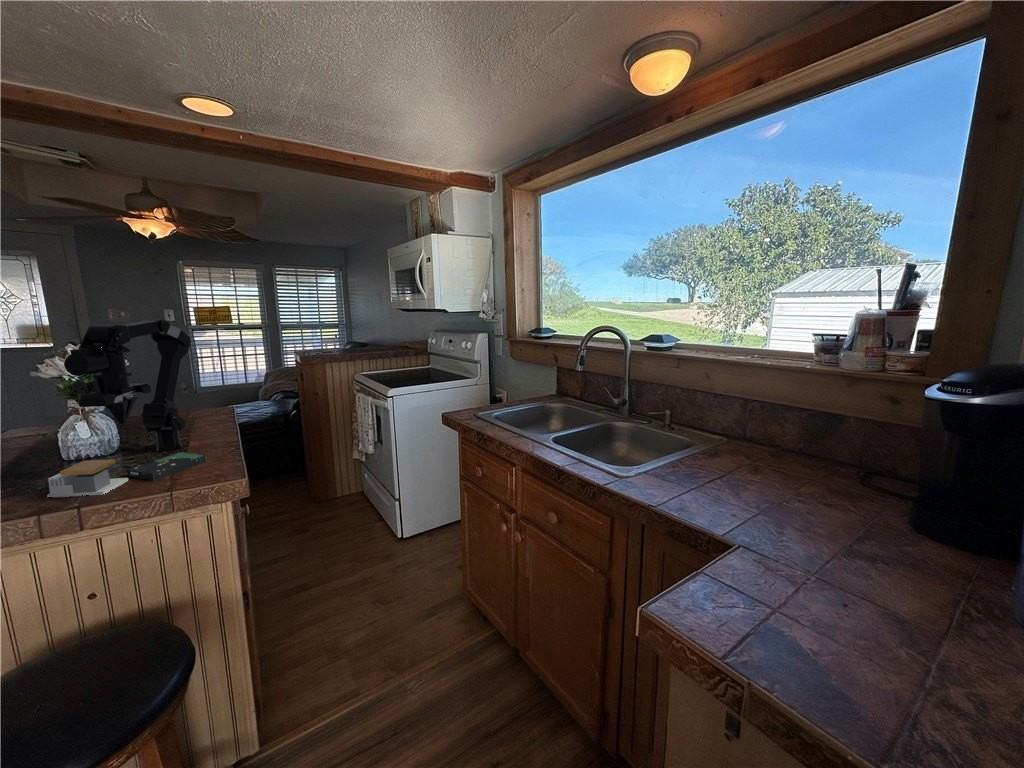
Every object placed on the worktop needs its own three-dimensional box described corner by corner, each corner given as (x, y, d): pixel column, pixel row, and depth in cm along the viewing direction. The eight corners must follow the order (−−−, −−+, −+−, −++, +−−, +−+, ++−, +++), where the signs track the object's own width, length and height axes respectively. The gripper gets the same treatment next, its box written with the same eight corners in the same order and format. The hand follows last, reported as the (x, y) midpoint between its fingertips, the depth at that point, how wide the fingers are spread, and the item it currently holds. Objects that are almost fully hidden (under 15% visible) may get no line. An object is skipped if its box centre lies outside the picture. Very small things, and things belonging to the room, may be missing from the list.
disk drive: (155, 483, 111) (208, 462, 125) (153, 473, 111) (206, 454, 125) (127, 478, 114) (182, 459, 128) (125, 469, 113) (180, 450, 127)
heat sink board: (77, 483, 109) (73, 466, 109) (128, 480, 111) (125, 463, 110) (47, 497, 101) (43, 479, 100) (103, 494, 103) (99, 476, 102)
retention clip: (88, 482, 108) (84, 460, 107) (119, 480, 109) (115, 459, 108) (64, 494, 101) (59, 471, 100) (97, 492, 102) (93, 469, 101)
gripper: (106, 365, 123) (115, 415, 126) (48, 376, 105) (60, 434, 108) (148, 365, 125) (156, 414, 128) (98, 375, 107) (109, 433, 110)
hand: (122, 423), depth 118 cm, fingers closed
